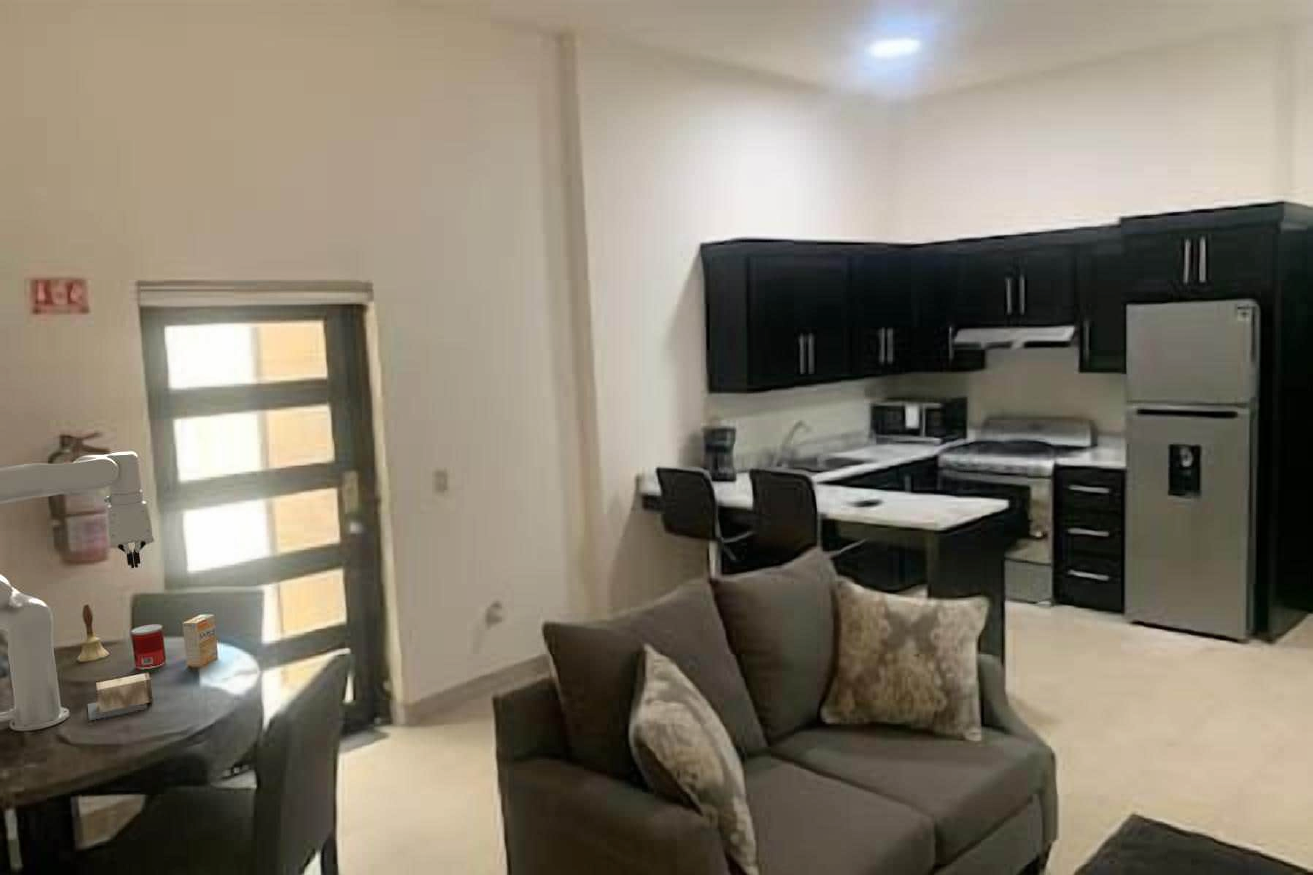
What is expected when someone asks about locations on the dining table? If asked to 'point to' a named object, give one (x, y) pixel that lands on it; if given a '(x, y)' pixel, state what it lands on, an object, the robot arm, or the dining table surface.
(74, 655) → the dining table surface
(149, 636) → the canned food
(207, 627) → the supplement box
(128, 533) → the robot arm
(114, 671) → the dining table surface
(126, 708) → the mat
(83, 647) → the hand bell
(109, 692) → the maple block
